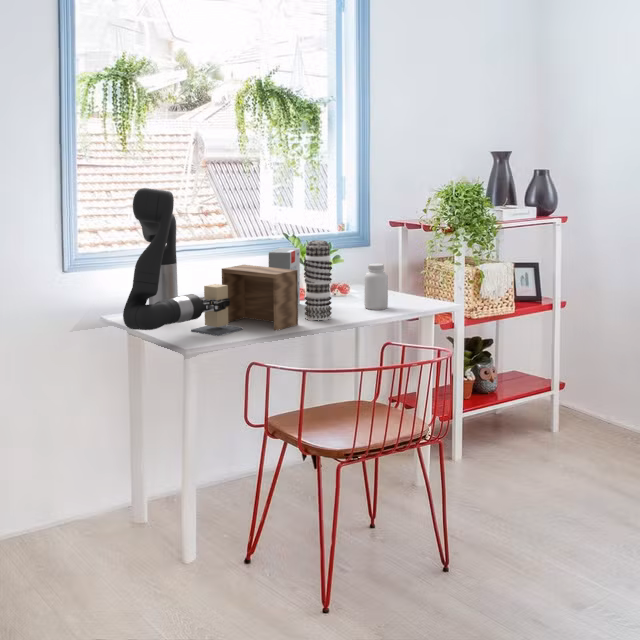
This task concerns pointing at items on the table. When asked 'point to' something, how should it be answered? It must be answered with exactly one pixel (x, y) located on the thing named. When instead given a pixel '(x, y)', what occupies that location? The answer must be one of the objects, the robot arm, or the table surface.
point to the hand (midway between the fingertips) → (221, 300)
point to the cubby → (262, 294)
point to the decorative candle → (317, 280)
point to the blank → (211, 293)
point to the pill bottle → (376, 287)
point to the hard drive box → (286, 261)
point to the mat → (217, 329)
